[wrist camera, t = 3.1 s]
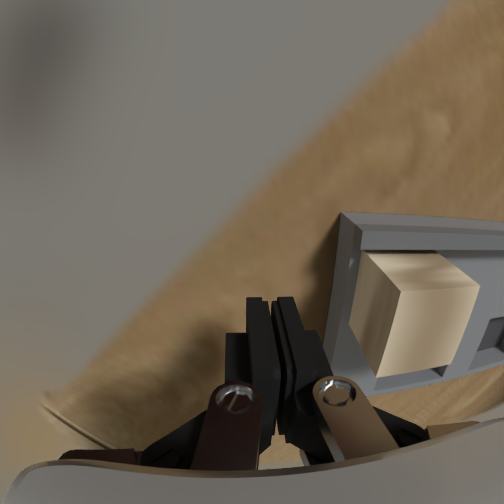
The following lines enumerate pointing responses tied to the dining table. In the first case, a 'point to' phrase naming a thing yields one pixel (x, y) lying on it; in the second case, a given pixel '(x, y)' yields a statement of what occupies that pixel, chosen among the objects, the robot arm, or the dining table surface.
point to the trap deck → (451, 248)
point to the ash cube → (410, 309)
